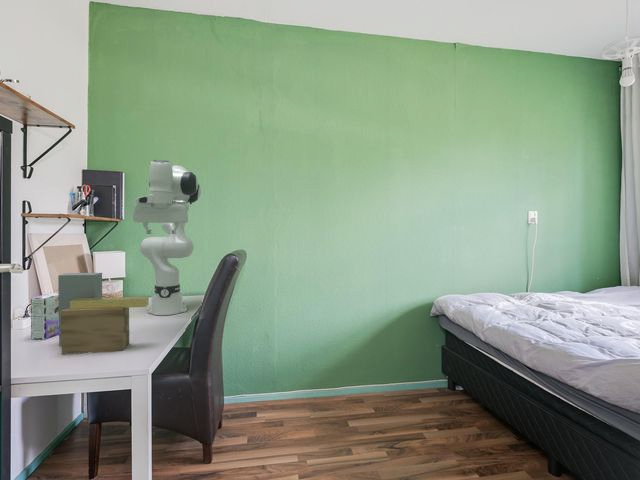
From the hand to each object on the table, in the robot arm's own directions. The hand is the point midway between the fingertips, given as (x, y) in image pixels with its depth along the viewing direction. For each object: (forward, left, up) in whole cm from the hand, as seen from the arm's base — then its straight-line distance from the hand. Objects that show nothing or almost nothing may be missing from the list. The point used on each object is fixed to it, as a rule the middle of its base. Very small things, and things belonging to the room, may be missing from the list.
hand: (161, 234), depth 136 cm
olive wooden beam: (+14, -14, -26) cm, 33 cm away
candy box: (-8, -43, -41) cm, 60 cm away
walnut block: (+14, -18, -41) cm, 47 cm away
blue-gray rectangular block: (+5, -27, -41) cm, 49 cm away
